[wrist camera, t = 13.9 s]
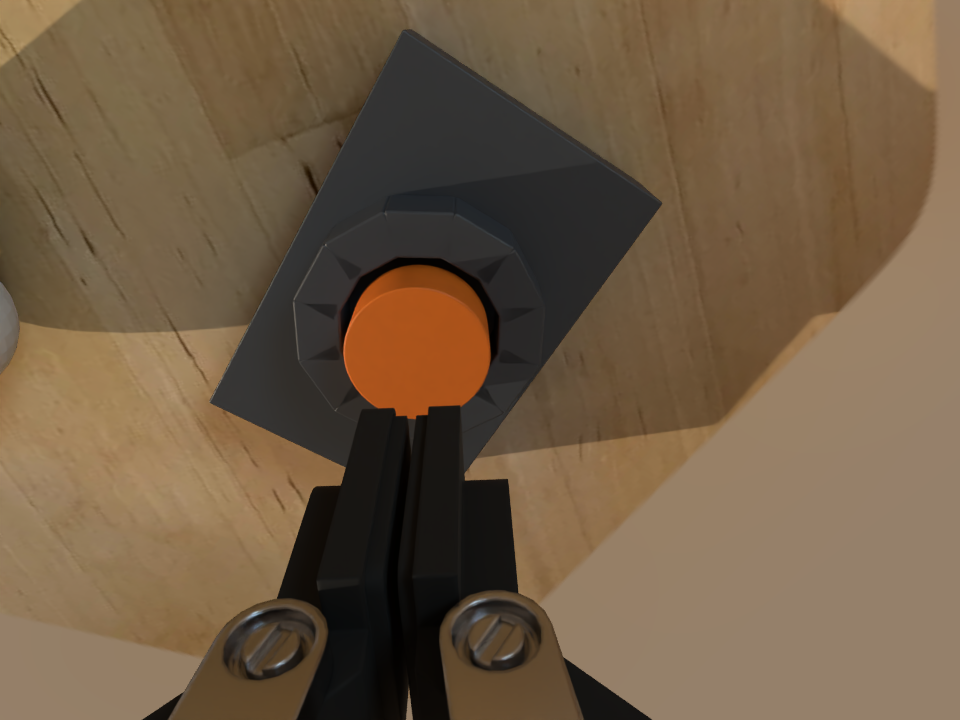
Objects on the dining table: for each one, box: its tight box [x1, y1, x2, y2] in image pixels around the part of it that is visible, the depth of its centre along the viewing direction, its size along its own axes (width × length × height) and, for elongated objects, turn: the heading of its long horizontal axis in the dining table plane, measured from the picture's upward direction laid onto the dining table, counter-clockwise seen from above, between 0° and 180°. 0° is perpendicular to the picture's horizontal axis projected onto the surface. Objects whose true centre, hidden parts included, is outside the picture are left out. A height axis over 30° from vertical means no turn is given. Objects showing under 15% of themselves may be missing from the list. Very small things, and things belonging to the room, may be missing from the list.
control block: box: [210, 29, 662, 473], centre depth 20 cm, size 12×8×4 cm, turn 148°
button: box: [343, 265, 491, 419], centre depth 18 cm, size 4×4×2 cm
